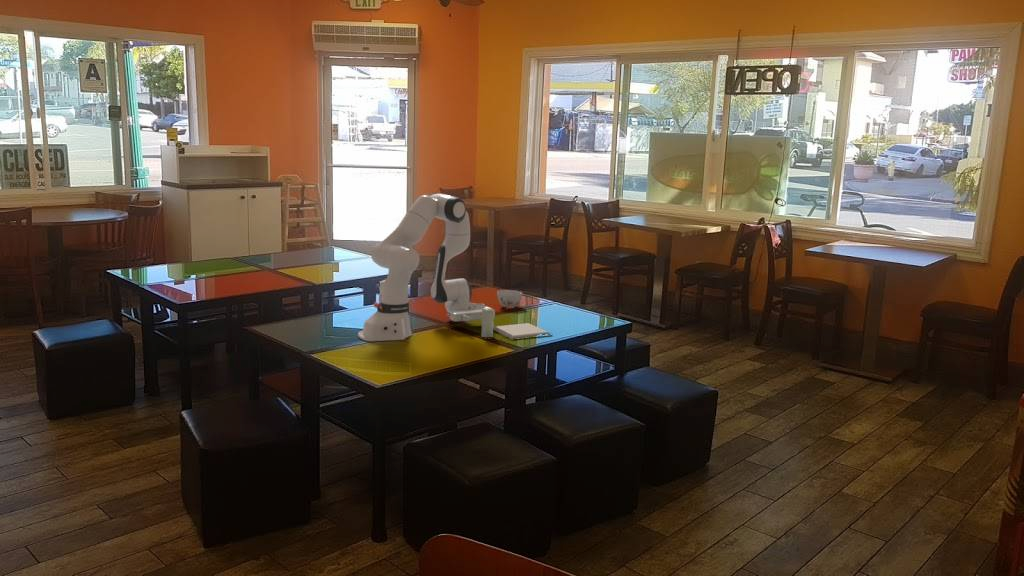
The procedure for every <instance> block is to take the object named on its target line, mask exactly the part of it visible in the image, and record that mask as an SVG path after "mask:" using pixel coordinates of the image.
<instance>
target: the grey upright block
mask: <svg viewBox="0 0 1024 576" xmlns="http://www.w3.org/2000/svg"><path fill="white" fill-rule="evenodd" d="M491 308H492V307H490V308H484V309H482V319H481V335H480V336H482V337H493V338H494V331H493V327H494V320H495V317H494V310H495V309H494V308H492V309H491ZM482 337H481V338H482Z"/></svg>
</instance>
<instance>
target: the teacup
mask: <svg viewBox="0 0 1024 576" xmlns="http://www.w3.org/2000/svg"><path fill="white" fill-rule="evenodd" d="M496 292H497V293H496V294H497V295H496V296H497V300H498V302H499V304H500V305H501V307H502V308H503V307H515V308H516V307H517V306H518V305H519V304H520V302H521V299H522V297H523V292H522V291H518V290H513V289H500V290H497V291H496Z"/></svg>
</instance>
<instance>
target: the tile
mask: <svg viewBox="0 0 1024 576" xmlns="http://www.w3.org/2000/svg"><path fill="white" fill-rule="evenodd" d="M493 330H494V331H496V332H498V333H500V334H502V335H504V336H506V337H508V338H510V339H516V338H524V337H533V336H537V335H539V334H542V335H545V334H548V335H550V334H552V333H551V332H549V331H547V330H545V329H542V328H540V327H538V326H536V325H534V324H531V323H518V324H517V323H516V324H507V325H497V326H493ZM494 331H493V332H494ZM496 332H495V333H496ZM498 333H497V334H498ZM500 334H499V335H500ZM502 335H501V336H502ZM504 336H503V337H504ZM506 337H505V338H506ZM508 338H507V339H508ZM510 339H509V340H510Z"/></svg>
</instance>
